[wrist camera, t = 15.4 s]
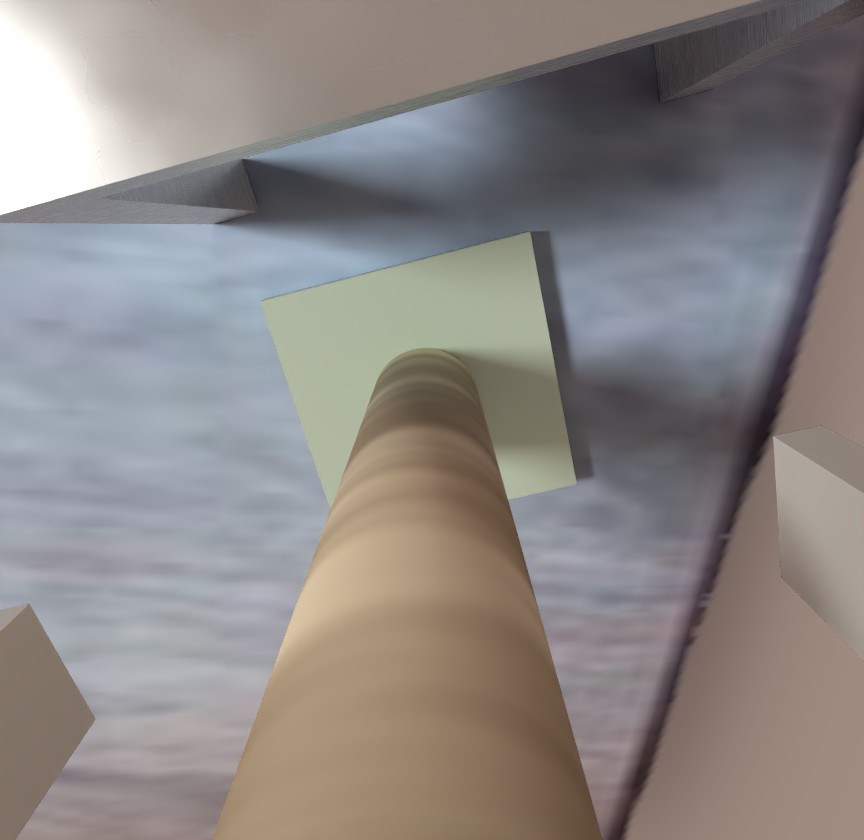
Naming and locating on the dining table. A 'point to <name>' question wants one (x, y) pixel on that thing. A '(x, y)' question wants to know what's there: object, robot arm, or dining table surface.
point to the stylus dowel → (414, 650)
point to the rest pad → (430, 328)
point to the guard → (305, 81)
